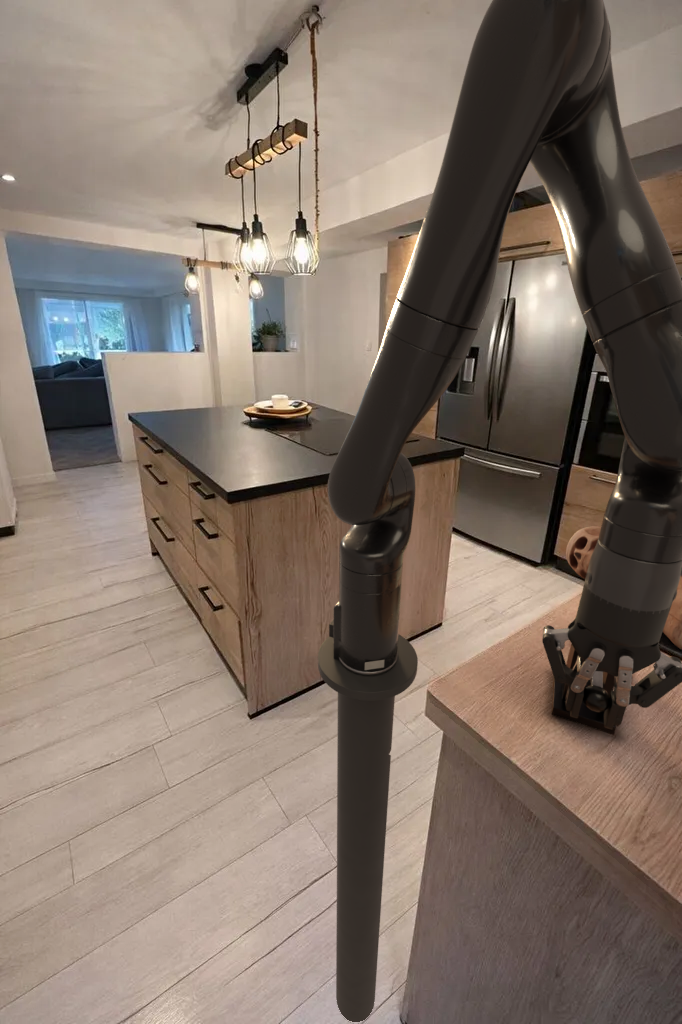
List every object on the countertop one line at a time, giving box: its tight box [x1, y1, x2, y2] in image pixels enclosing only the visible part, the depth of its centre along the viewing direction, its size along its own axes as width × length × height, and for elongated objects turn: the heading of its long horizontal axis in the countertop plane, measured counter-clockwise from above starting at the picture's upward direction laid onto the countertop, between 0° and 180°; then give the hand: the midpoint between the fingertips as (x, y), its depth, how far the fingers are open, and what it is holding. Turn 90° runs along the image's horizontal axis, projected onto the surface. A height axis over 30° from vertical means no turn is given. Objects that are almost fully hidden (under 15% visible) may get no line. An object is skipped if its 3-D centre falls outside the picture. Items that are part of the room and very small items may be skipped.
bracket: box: [551, 643, 617, 736], centre depth 56 cm, size 8×7×12 cm
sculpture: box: [565, 525, 682, 650], centre depth 80 cm, size 10×14×30 cm
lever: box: [583, 671, 610, 712], centre depth 52 cm, size 11×3×3 cm, turn 154°
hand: (590, 717), depth 50 cm, fingers closed on lever, 3 cm apart
